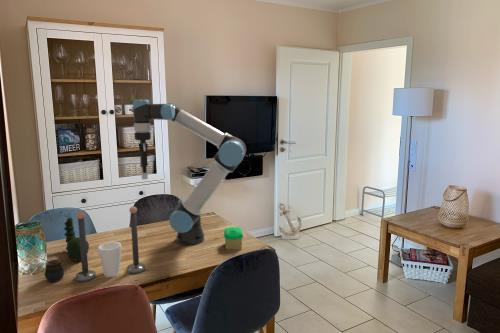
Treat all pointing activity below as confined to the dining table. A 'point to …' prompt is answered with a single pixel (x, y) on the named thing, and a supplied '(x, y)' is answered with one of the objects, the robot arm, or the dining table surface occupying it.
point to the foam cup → (110, 258)
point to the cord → (134, 236)
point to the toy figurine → (73, 241)
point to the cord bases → (92, 274)
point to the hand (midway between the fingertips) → (144, 178)
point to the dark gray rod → (82, 242)
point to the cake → (233, 238)
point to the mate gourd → (54, 270)
